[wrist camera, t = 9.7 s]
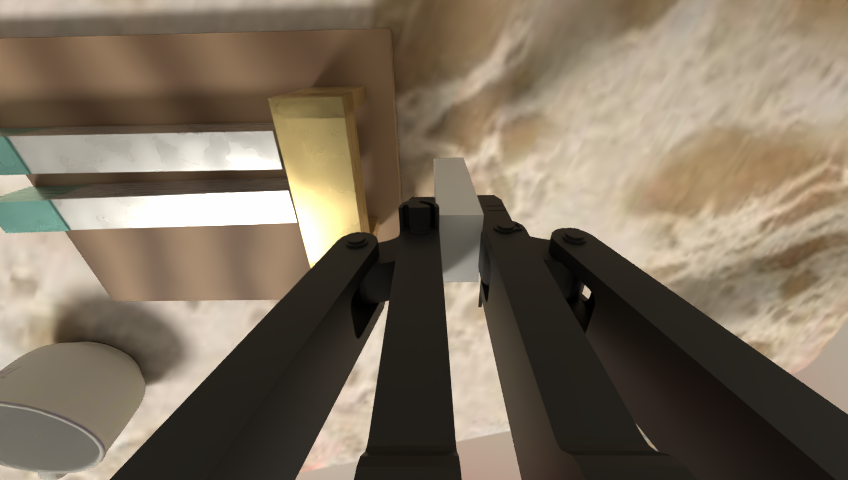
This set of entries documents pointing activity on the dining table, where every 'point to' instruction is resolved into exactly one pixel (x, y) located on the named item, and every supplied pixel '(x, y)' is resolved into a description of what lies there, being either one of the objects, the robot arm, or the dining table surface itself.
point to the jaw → (148, 205)
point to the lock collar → (323, 163)
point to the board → (202, 104)
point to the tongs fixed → (140, 148)
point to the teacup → (66, 406)
